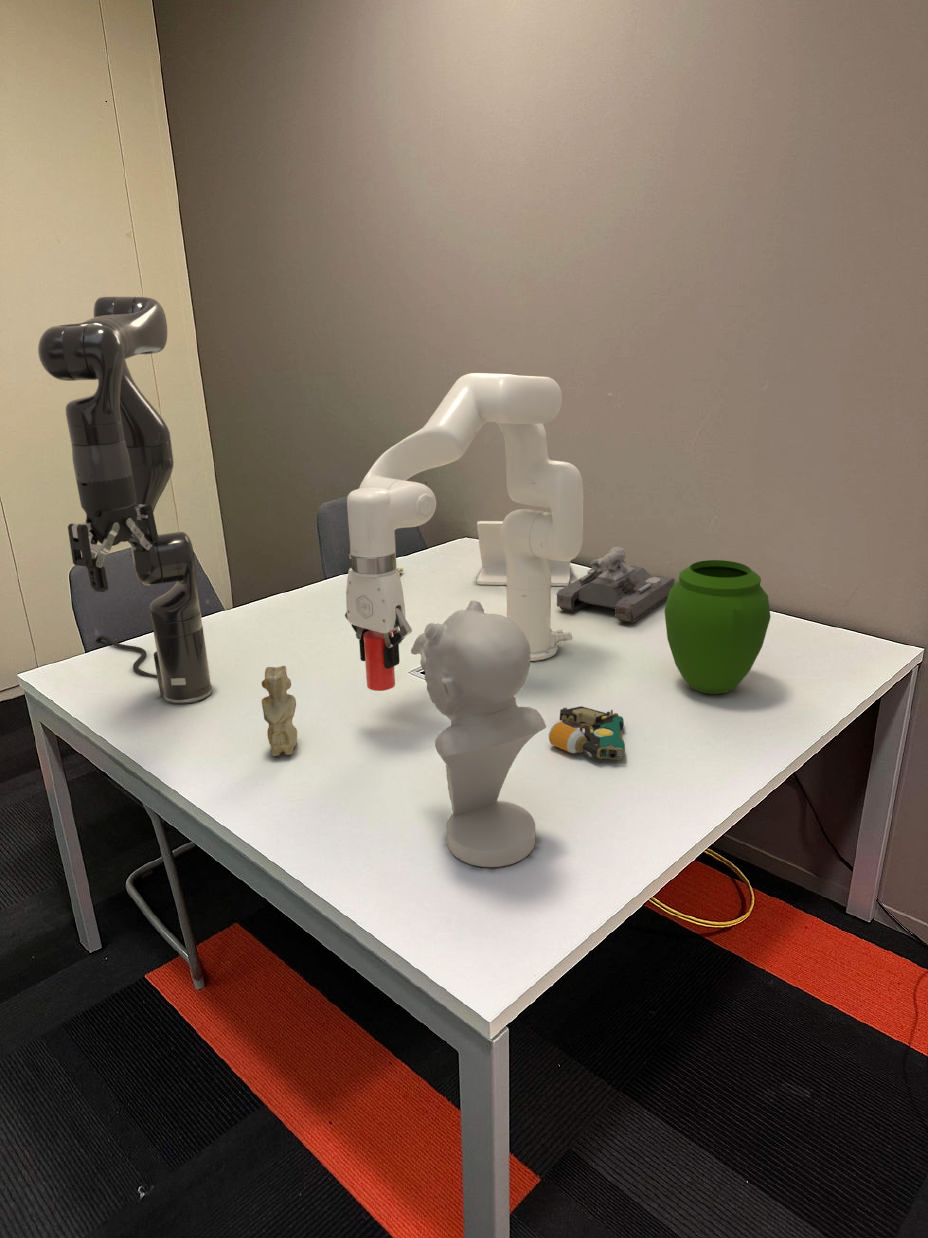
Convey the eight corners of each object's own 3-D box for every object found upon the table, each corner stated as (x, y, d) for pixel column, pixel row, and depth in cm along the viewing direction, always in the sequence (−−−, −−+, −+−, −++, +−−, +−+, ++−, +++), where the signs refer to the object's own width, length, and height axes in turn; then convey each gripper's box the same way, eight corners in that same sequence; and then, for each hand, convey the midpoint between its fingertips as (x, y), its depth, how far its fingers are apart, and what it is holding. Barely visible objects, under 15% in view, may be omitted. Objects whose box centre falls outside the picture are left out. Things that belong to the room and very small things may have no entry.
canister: (388, 692, 148) (385, 640, 144) (362, 689, 149) (358, 637, 146) (399, 681, 152) (396, 630, 149) (374, 677, 154) (371, 627, 150)
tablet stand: (569, 585, 229) (570, 524, 223) (476, 584, 232) (475, 523, 226) (570, 566, 246) (571, 508, 240) (484, 564, 249) (483, 507, 243)
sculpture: (303, 738, 153) (295, 661, 148) (297, 758, 146) (289, 679, 141) (270, 740, 153) (261, 663, 148) (263, 760, 146) (253, 680, 141)
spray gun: (565, 715, 160) (645, 732, 154) (534, 751, 146) (620, 771, 140) (567, 694, 159) (647, 710, 153) (536, 729, 144) (623, 748, 138)
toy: (603, 584, 229) (605, 530, 224) (673, 597, 218) (677, 540, 213) (555, 612, 210) (556, 553, 205) (630, 627, 199) (633, 566, 194)
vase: (773, 678, 171) (786, 561, 163) (746, 717, 156) (759, 591, 147) (679, 659, 181) (686, 549, 173) (645, 694, 166) (651, 575, 157)
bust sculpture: (481, 772, 140) (476, 569, 128) (565, 848, 120) (569, 617, 108) (392, 800, 134) (378, 588, 121) (465, 886, 114) (457, 642, 101)
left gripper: (121, 463, 129) (139, 566, 135) (43, 482, 117) (66, 594, 123) (160, 466, 126) (176, 571, 132) (84, 485, 114) (105, 600, 120)
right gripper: (322, 560, 145) (330, 658, 152) (396, 576, 135) (402, 681, 142) (353, 550, 151) (360, 645, 157) (427, 565, 141) (431, 666, 147)
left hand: (123, 582), depth 127 cm, fingers open, 8 cm apart
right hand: (380, 661), depth 149 cm, fingers closed on canister, 5 cm apart
